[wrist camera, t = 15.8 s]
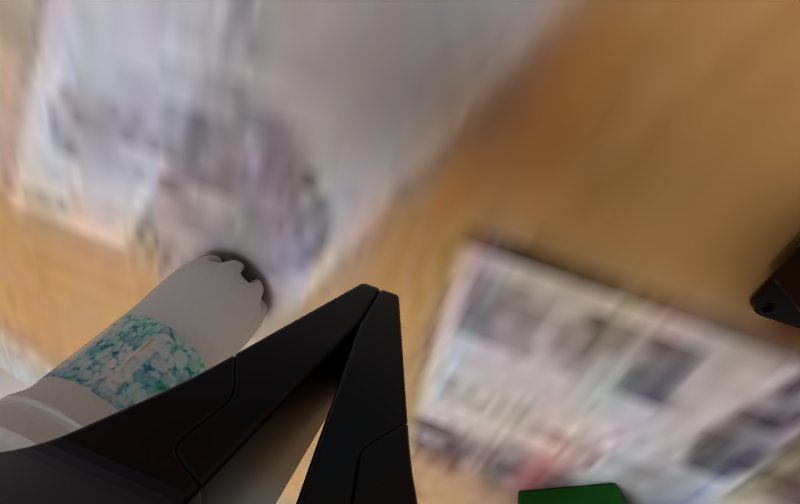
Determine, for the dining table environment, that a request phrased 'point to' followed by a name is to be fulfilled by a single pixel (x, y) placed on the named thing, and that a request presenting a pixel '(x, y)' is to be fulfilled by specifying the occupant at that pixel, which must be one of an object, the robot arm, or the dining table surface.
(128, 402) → the bottle
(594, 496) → the milk carton
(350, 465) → the robot arm
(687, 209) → the dining table surface
